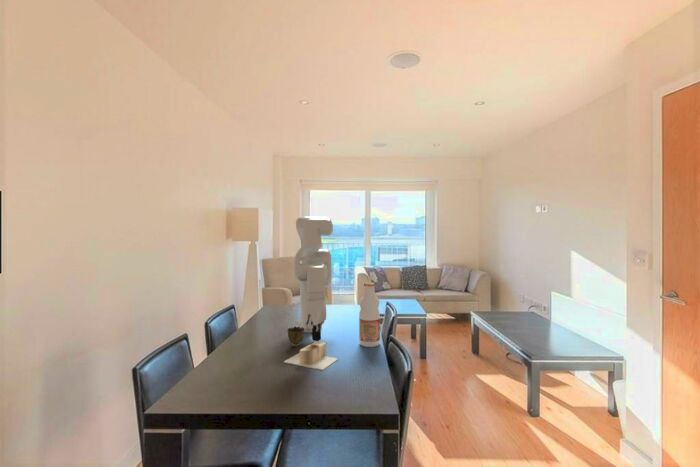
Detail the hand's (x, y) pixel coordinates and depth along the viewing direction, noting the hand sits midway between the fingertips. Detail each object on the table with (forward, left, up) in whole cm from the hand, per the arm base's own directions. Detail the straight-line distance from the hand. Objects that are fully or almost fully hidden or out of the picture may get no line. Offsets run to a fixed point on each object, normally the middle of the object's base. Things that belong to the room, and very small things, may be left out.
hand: (316, 340), depth 140 cm
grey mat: (0, -4, -7) cm, 8 cm away
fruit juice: (+13, +25, -7) cm, 29 cm away
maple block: (0, +3, -4) cm, 6 cm away
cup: (-16, +8, -7) cm, 19 cm away
